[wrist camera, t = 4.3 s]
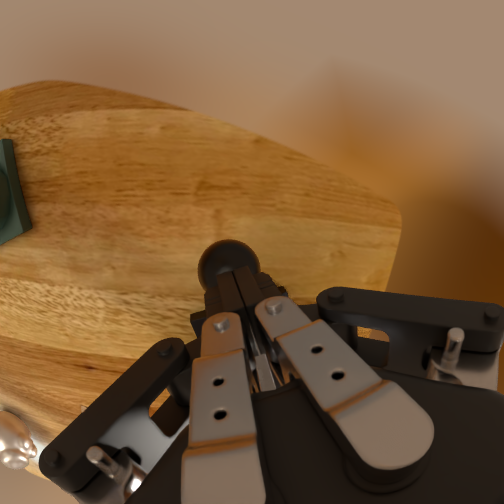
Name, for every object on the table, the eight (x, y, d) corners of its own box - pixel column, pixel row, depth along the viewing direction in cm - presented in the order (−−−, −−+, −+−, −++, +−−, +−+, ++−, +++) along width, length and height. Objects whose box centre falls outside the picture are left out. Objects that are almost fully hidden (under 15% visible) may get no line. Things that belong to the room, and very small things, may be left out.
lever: (191, 245, 15) (187, 256, 12) (246, 228, 16) (256, 235, 12) (261, 434, 19) (269, 462, 16) (299, 422, 19) (311, 448, 16)
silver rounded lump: (35, 442, 27) (22, 483, 17) (-7, 410, 23) (-25, 449, 14) (48, 429, 26) (34, 477, 17) (1, 392, 23) (-22, 437, 14)
